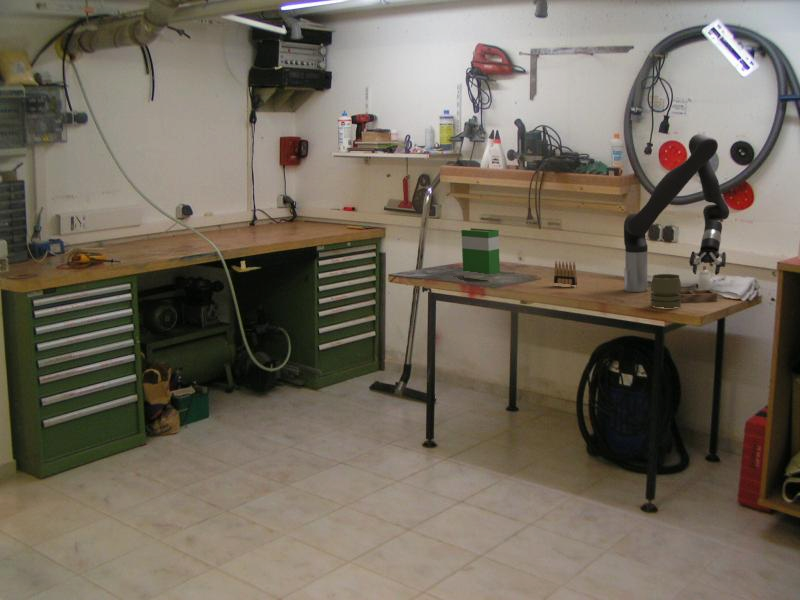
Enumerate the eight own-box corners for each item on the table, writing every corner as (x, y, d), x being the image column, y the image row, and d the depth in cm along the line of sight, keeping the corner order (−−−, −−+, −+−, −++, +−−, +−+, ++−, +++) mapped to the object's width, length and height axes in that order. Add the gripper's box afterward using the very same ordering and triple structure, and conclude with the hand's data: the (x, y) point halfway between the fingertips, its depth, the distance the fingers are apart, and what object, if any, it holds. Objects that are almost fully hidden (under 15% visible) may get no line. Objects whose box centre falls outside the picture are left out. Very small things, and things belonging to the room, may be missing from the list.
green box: (463, 278, 428) (461, 230, 423) (473, 275, 432) (471, 228, 428) (489, 281, 415) (488, 232, 410) (500, 279, 419) (498, 230, 415)
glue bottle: (699, 295, 359) (700, 267, 356) (697, 292, 363) (697, 265, 361) (711, 294, 358) (711, 266, 356) (708, 292, 363) (708, 265, 360)
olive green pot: (681, 274, 342) (680, 279, 332) (680, 303, 345) (680, 309, 334) (651, 273, 346) (650, 279, 336) (651, 303, 348) (650, 309, 338)
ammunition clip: (553, 286, 394) (553, 260, 391) (555, 285, 395) (555, 260, 393) (575, 288, 387) (575, 261, 385) (577, 287, 389) (576, 261, 386)
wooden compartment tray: (673, 302, 347) (673, 295, 346) (668, 298, 356) (668, 291, 355) (717, 301, 345) (717, 293, 345) (710, 296, 354) (711, 289, 354)
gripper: (692, 236, 369) (686, 267, 361) (727, 237, 362) (722, 268, 354) (694, 247, 374) (689, 278, 367) (729, 248, 368) (724, 279, 360)
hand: (705, 273), depth 361 cm, fingers open, 8 cm apart
